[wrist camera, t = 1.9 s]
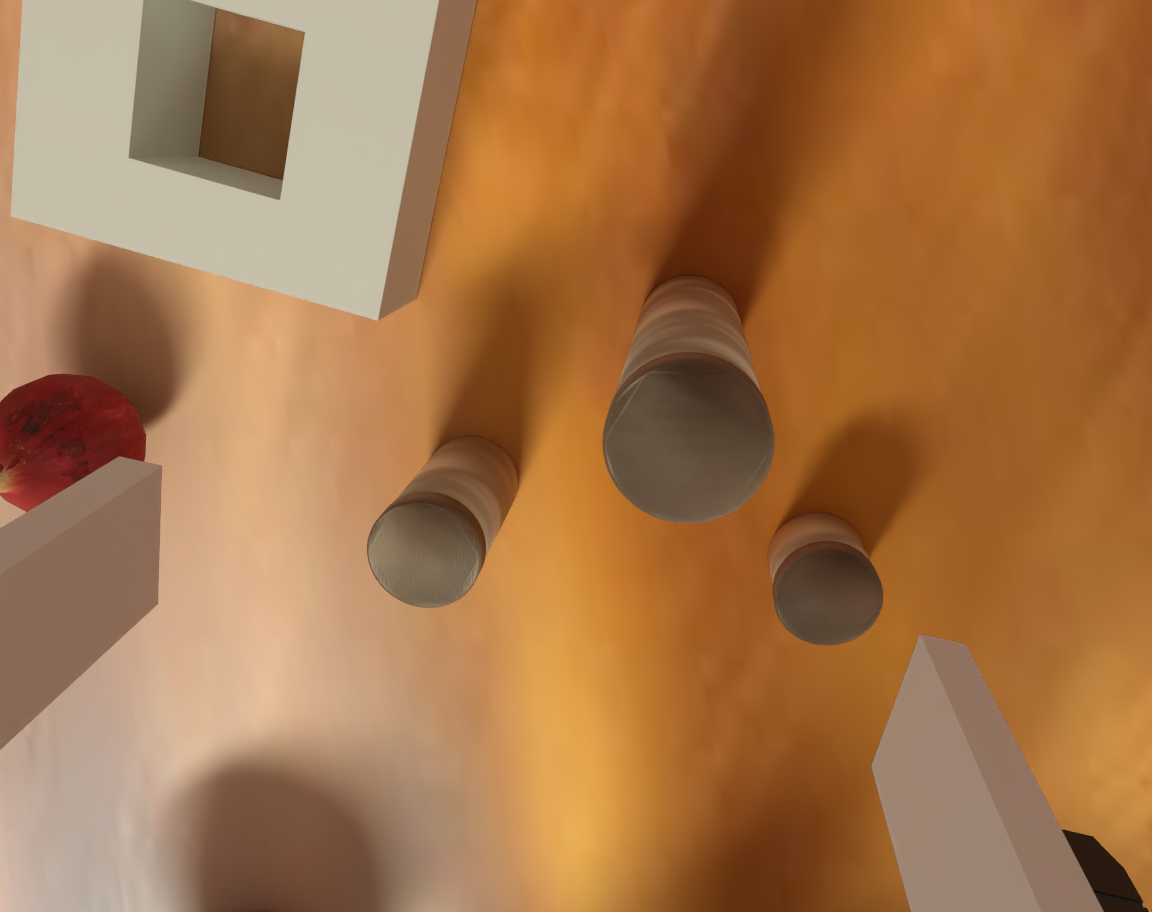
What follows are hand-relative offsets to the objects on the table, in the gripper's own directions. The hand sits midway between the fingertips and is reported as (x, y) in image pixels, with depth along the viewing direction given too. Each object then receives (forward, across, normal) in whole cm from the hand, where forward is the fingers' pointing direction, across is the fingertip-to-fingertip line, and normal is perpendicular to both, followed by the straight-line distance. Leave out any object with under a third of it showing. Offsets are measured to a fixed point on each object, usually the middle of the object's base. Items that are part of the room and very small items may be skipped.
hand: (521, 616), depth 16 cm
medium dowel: (+23, +5, +8) cm, 25 cm away
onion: (+24, +21, +9) cm, 33 cm away
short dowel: (+23, -10, +8) cm, 27 cm away
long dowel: (+24, -3, 0) cm, 24 cm away
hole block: (+24, +15, -6) cm, 29 cm away
